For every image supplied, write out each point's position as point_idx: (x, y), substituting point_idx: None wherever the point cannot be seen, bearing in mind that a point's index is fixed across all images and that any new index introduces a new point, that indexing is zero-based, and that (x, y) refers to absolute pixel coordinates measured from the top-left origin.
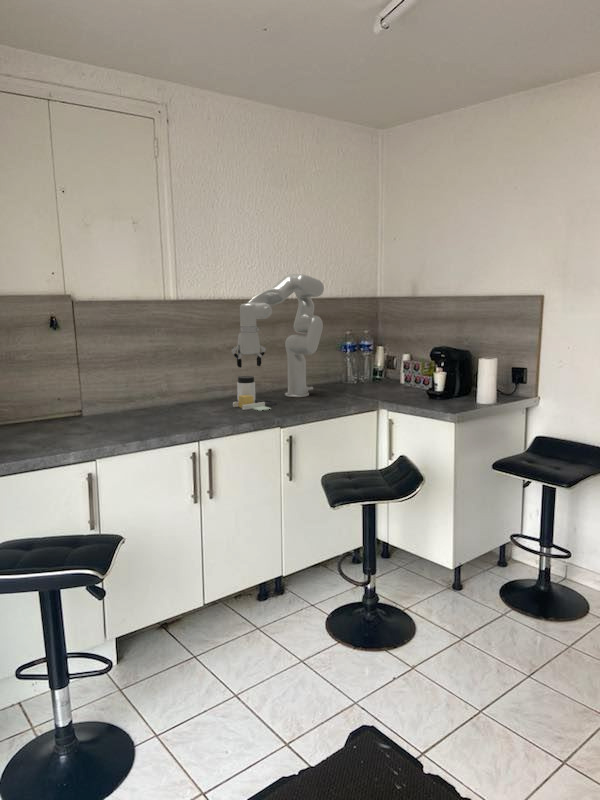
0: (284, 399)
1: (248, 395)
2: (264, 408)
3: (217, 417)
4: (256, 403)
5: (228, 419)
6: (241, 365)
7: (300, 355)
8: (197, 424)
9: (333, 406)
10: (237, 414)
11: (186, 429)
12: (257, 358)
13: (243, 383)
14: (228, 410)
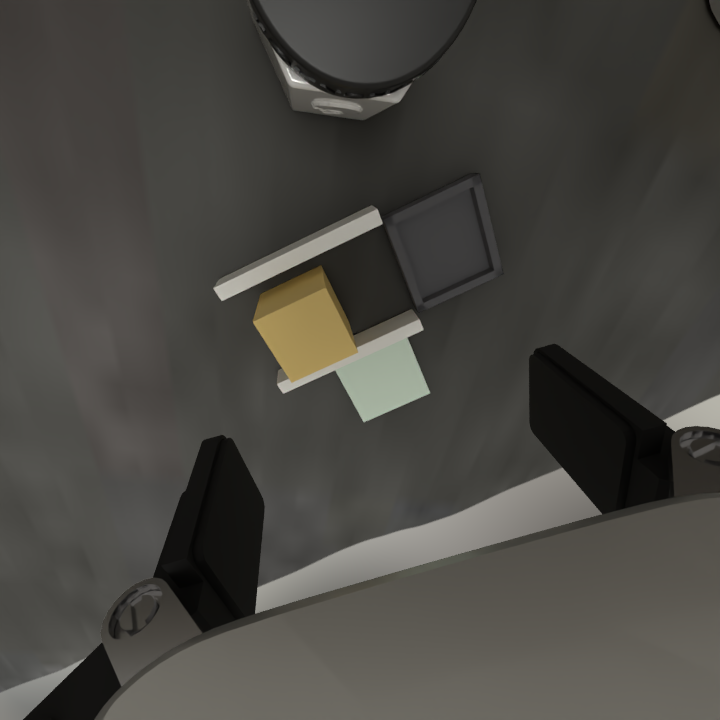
0: (619, 92)
1: (327, 324)
2: (395, 396)
3: (154, 501)
4: (366, 355)
5: None
6: (261, 526)
7: None
8: (86, 586)
9: (708, 379)
10: (249, 462)
11: (63, 632)
12: (611, 459)
13: (310, 86)
14: (196, 373)
